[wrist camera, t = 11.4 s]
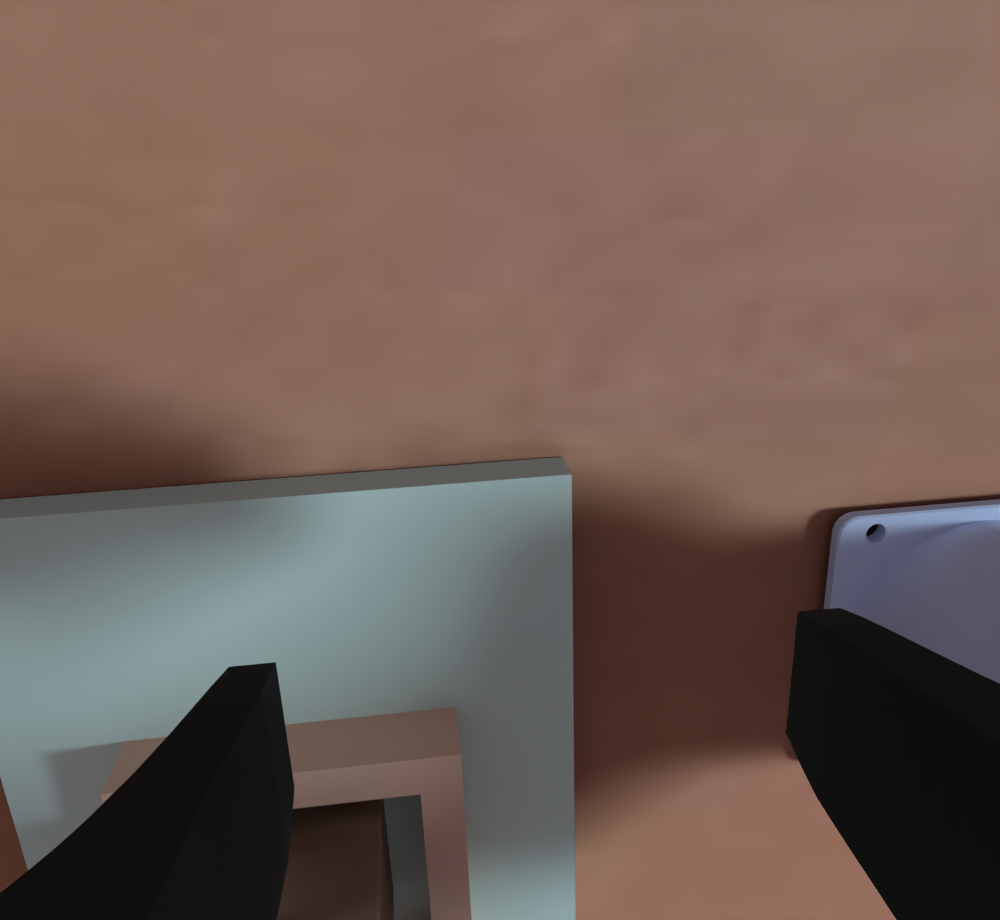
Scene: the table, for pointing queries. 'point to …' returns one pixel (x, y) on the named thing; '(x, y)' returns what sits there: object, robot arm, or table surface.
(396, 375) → the table surface
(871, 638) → the robot arm
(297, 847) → the spigot block
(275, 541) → the dock board
